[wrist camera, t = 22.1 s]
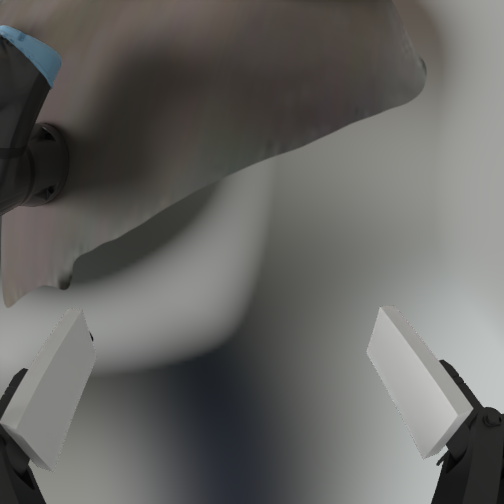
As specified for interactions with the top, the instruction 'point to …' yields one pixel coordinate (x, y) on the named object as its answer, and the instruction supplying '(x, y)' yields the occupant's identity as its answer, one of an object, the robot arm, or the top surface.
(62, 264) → the top surface
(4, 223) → the top surface
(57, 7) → the top surface
